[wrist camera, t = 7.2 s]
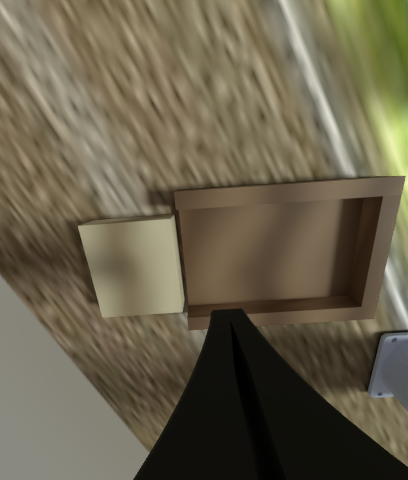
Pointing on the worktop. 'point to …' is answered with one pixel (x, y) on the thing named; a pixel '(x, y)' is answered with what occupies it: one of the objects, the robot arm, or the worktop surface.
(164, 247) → the beige rectangular block
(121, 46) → the worktop surface
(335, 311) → the walnut box
